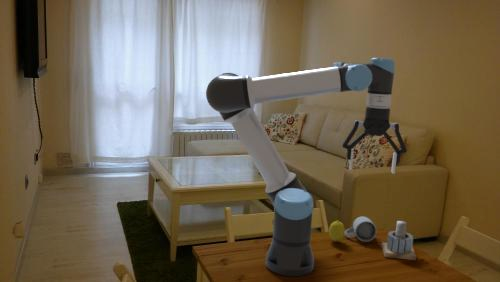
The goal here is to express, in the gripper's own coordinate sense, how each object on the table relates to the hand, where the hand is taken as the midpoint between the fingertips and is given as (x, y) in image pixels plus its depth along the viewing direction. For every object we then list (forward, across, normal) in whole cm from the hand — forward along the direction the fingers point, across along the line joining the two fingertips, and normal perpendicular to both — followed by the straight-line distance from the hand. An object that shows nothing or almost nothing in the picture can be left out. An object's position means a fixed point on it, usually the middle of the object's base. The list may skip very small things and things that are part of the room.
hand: (371, 171), depth 152 cm
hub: (+27, +12, +3) cm, 30 cm away
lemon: (+29, -9, +7) cm, 31 cm away
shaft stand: (+29, +12, +3) cm, 31 cm away
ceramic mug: (+29, 0, +14) cm, 32 cm away
